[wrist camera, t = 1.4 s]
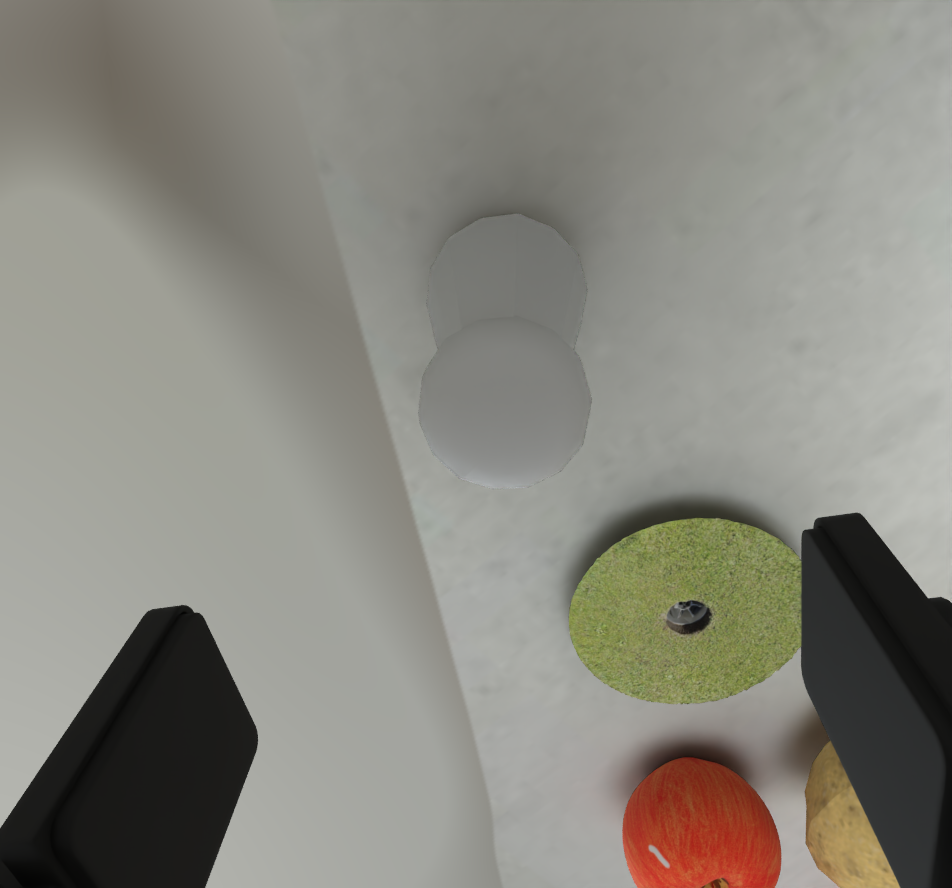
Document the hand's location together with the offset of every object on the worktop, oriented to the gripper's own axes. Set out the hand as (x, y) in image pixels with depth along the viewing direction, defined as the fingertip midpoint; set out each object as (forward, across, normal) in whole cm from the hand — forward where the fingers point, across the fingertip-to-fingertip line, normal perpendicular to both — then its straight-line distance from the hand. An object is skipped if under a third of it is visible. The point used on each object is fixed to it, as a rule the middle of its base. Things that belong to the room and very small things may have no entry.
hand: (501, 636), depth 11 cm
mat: (+20, -6, +16) cm, 26 cm away
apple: (+20, -5, +30) cm, 37 cm away
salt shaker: (+20, 0, 0) cm, 20 cm away
